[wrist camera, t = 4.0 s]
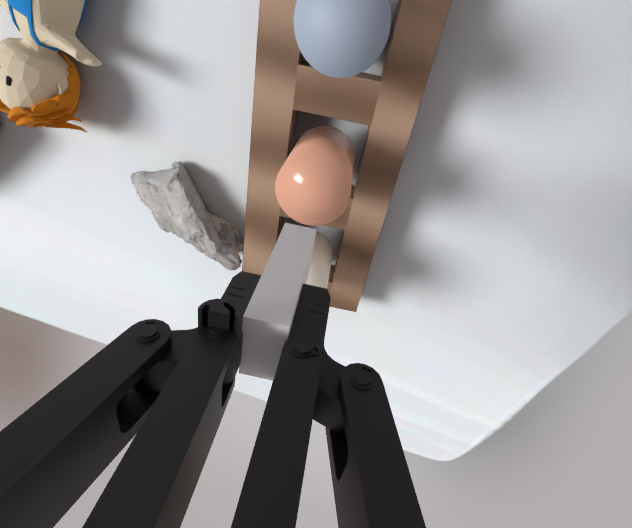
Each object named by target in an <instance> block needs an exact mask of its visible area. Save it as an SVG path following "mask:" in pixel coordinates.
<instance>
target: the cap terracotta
mask: <svg viewBox="0 0 632 528" xmlns="http://www.w3.org/2000/svg"><path fill="white" fill-rule="evenodd" d="M354 162H355V152H354V148H353V145H352V143H351V141H350V139H349V138H348V137H347V136H346V135H345V134H344V133H343V132H342V131H340V130H338V129H336V128H334V127H330V126H317V127H314V128H311V129H309V130H308V131H306V132H305V133H304V134H303V135H302V136H301V137H300V139H299V140H298V142H297V143H296V145H295V146H294V148H293V150H292V151H291V153H290V155H289V156H288V158H287V160H286V161H285V163H284V164H283V166H282V168H281V169H280V171H279V173H278V175H277V178H276V182H275V193H276V198H277V200H278V203H279V205H280V207H281V208H282V209H283V211H284V212H285V213H286V214H287V215H288V216H289V217H291V218H292V219H293V220H295V221H297V222H299V223H302V224H305V225H311V226H319V225H325V224H328V223H330V222H332V221H334V220H336V219H337V218H338V217H340V216H341V215H342V213H343V212H344V211H345V209H346V208H347V206H348V203H349V200H350V195H351V186H352V178H353V170H354Z"/></svg>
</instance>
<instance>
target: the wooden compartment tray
mask: <svg viewBox="0 0 632 528" xmlns="http://www.w3.org/2000/svg"><path fill="white" fill-rule="evenodd" d="M451 1H452V0H399V4H398V8H397V12H396V17H395V21H394V25H393V29H392V33H391V37H390V41H389V45H388V50H387V54H386V58H385V62H384V66H383V70H382V74H381V76H376V75H371V74H367V73H362V72H361V73H359V74H357V75H354V76H351V77H346V78H336V77H330V76H327V75H325V74H322V73H320V72H319V71H317V70H316V69H314V68H313V67H312V66H311V65H310V64H309V63H308V62H307V61H305V58H304V56H303V55H302V53H301V51H300V49H299V47H298V44H297V41H296V37H295V32H294V11H295V6H296V2H297V0H260V7H259V22H258V38H257V53H256V68H255V83H254V98H253V113H252V129H251V144H250V159H249V174H248V189H247V204H246V220H245V235H244V250H243V265H242V271H244V272H248V273H253V274H258V275H262V273H263V271H264V269H265V267H266V264H267V262H268V260H269V258H270V255H271V253H272V251H273V249H274V246H275V244H276V242H277V240H278V238H279V235H280V233H281V231H282V227H283V220H284V217H287V218H291V217H289V216H288V215H287V214H286V213H285V212H284V211H283V209H282V208H281V207H280V205H279V203H278V200H277V198H276V193H275V182H276V178H277V175H278V173H279V171H280V169H281V168H282V166H283V164H284V163H285V161H286V160H287V158H288V156H289V155H290V153H291V151H292V150H293V144H294V137H295V129H296V121H297V114H298V111H303V112H308V113H312V114H317V115H322V116H327V117H332V118H336V119H341V120H346V121H351V122H356V123H361V124H365V125H369V128H368V132H367V137H366V141H365V145H364V149H363V153H362V157H361V161H360V165H359V170H358V174H357V178H356V182H355V186H354V185H352V186H351V195H350V200H349V203H348V206H347V208H346V209H345V211H344V212H343V213H342V215H341V216H340V217H338V218H337V219H336V220H334V221H332V222H330V223H328V224H325V226H330V227H335V228H340V229H344V232H343V236H342V240H341V244H340V248H339V252H338V257H337V261H336V265H335V266H334V265H331V269H330V275H329V281H328V287H327V290H328V292H329V295H330V297H331V300H330V307H335V308H340V309H344V310H349V311H354V312H356V310H357V307H358V303H359V300H360V297H361V294H362V290H363V287H364V284H365V281H366V277H367V274H368V271H369V268H370V264H371V261H372V258H373V255H374V251H375V248H376V245H377V242H378V238H379V235H380V232H381V229H382V225H383V222H384V219H385V216H386V212H387V209H388V206H389V203H390V199H391V196H392V193H393V190H394V186H395V183H396V180H397V177H398V173H399V170H400V167H401V164H402V160H403V157H404V154H405V151H406V147H407V144H408V141H409V138H410V134H411V131H412V128H413V125H414V121H415V118H416V115H417V112H418V108H419V105H420V102H421V99H422V95H423V92H424V89H425V86H426V82H427V79H428V76H429V73H430V69H431V66H432V63H433V60H434V56H435V53H436V50H437V47H438V43H439V40H440V37H441V34H442V30H443V27H444V24H445V21H446V17H447V14H448V11H449V8H450V4H451Z"/></svg>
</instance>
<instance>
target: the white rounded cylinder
mask: <svg viewBox="0 0 632 528" xmlns="http://www.w3.org/2000/svg"><path fill="white" fill-rule="evenodd" d="M332 256H333V250H332V246H331V244H330V242H329V241H328V239H327V238H326V237H325V236H324V235H322V234H321V233H319V232H316V237H315V242H314V247H313V252H312V258H311V263H310V268H309V273H308V278H307V282H306V284H308V285H312V286H317V287H322V288H326V289H327V287H328V281H329V275H330V269H331V263H332Z"/></svg>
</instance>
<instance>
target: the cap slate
mask: <svg viewBox="0 0 632 528" xmlns="http://www.w3.org/2000/svg"><path fill="white" fill-rule="evenodd" d="M390 27H391V7H390V2H389V0H297V2H296V6H295V11H294V32H295V37H296V41H297V44H298V47H299V49H300V51H301V53H302V55H303V56H304V58H305V59H306V61H307V62H308V63H309V64H310V65H311V66H312V67H313V68H314V69H316V70H317V71H319V72H320V73H322V74H325V75H327V76H330V77H336V78H346V77H351V76H354V75H357V74H359V73H361V72H363V71H364V70H366V69H367V68H369V67H370V66H371V65H372V64H373V63H374V62H375V61H376V60H377V58H378V57H379V56H380V54H381V53H382V51H383V49H384V47H385V45H386V42H387V40H388V36H389V33H390Z"/></svg>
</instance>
